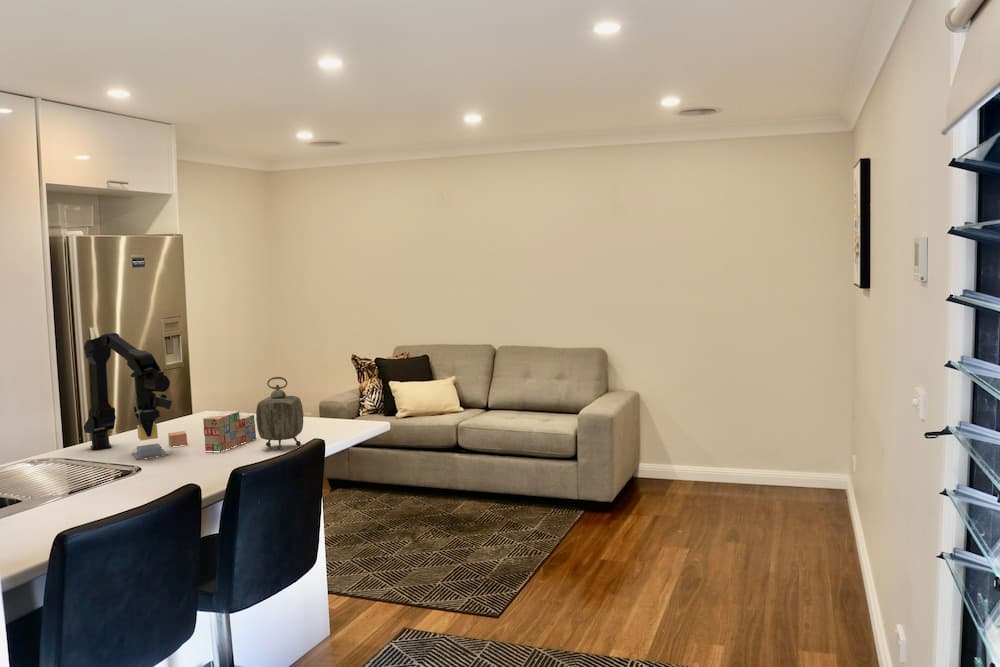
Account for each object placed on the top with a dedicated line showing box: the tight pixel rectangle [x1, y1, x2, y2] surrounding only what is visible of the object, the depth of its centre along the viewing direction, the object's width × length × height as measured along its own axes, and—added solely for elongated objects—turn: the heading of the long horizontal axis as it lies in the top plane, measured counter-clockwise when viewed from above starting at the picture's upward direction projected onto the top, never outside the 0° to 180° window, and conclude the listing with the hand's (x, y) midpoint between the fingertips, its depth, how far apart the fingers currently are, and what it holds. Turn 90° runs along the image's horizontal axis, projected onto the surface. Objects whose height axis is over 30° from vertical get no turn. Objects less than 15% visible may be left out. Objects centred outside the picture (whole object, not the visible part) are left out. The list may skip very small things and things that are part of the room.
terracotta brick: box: [167, 430, 188, 448], centre depth 303 cm, size 6×6×4 cm
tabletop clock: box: [255, 376, 304, 450], centre depth 291 cm, size 14×9×25 cm, turn 89°
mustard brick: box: [136, 422, 159, 441], centre depth 288 cm, size 6×6×4 cm
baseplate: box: [131, 443, 168, 461], centre depth 289 cm, size 10×10×3 cm
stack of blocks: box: [202, 410, 257, 452], centre depth 299 cm, size 21×6×12 cm, turn 162°
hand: (147, 435), depth 288 cm, fingers closed on mustard brick, 5 cm apart
